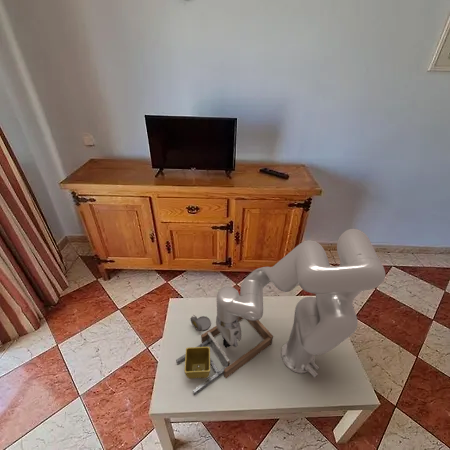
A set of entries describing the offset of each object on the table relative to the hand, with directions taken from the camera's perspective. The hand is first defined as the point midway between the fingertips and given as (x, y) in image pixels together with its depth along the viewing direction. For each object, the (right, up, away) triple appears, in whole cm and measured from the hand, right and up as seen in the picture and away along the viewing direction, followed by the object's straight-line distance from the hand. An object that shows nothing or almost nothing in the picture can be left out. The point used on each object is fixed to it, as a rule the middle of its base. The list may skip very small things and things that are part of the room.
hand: (227, 344), depth 101 cm
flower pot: (-11, -8, -4) cm, 14 cm away
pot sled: (-9, -7, -3) cm, 12 cm away
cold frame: (+4, -1, +5) cm, 6 cm away
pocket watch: (-12, +3, +11) cm, 16 cm away
